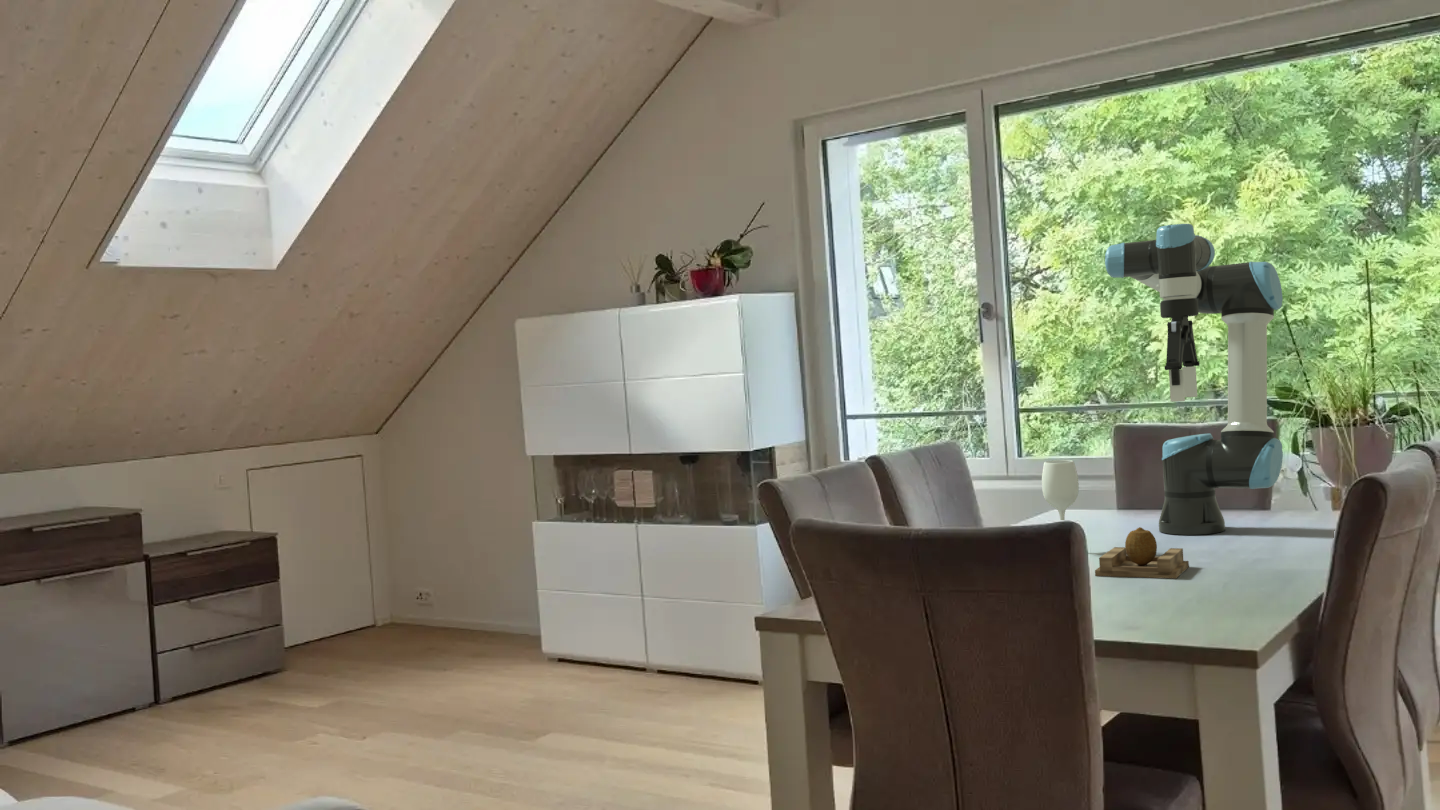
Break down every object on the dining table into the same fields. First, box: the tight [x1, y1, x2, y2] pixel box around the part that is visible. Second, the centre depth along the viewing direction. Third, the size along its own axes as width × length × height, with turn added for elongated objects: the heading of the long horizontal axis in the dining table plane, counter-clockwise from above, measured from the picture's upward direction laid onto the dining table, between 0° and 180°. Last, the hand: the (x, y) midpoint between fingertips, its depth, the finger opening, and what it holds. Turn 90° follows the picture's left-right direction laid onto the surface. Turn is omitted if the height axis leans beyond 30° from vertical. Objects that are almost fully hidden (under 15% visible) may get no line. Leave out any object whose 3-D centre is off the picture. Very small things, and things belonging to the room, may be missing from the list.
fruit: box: [1124, 526, 1158, 566], centre depth 259 cm, size 6×6×8 cm
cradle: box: [1094, 546, 1190, 579], centre depth 259 cm, size 13×16×4 cm
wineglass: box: [1041, 459, 1080, 521], centre depth 288 cm, size 9×9×21 cm
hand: (1184, 399), depth 263 cm, fingers open, 13 cm apart
